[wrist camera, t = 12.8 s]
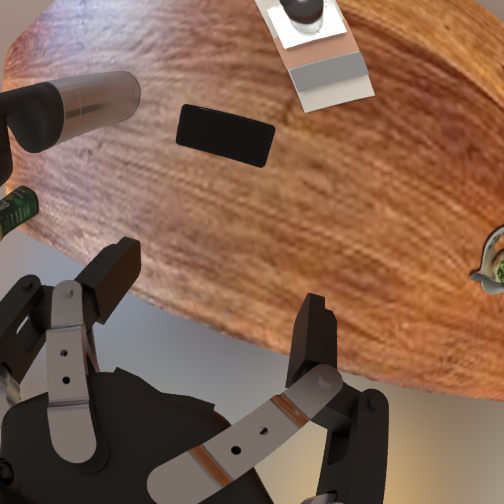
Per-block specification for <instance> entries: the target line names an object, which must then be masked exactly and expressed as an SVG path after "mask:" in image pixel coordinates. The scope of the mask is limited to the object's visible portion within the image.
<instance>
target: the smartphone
mask: <svg viewBox="0 0 504 504" xmlns="http://www.w3.org/2000/svg"><path fill="white" fill-rule="evenodd" d="M274 133H275V127H274V126H273V125H270V124H266V123H263V122H260V121H256V120H252V119H249V118H245V117H241V116H237V115H233V114H229V113H225V112H221V111H217V110H212V109H208V108H203V107H199V106H194V105H189V104H185V105H183V106H182V109H181V114H180V119H179V125H178V130H177V136H176V143H177V144H178V145H182V146H186V147H190V148H194V149H197V150H201V151H205V152H209V153H212V154H216V155H219V156H223V157H226V158H230V159H233V160H237V161H240V162H243V163H247V164H250V165H253V166H256V167H260V168H262V167H264V166H265V164H266V160H267V157H268V154H269V150H270V147H271V143H272V140H273V137H274Z"/></svg>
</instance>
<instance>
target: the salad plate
mask: <svg viewBox="0 0 504 504" xmlns="http://www.w3.org/2000/svg"><path fill="white" fill-rule="evenodd" d="M502 235H504V227H501V228H499V229H498V230H497V231H495V232H494V233H493V234H492V235H491V237H490V238H489V239H488V241H487V243H486V245H485V248H484V251H483V257H482V264H481V268H480V270H479V271H478V272H474V273H473V274H472V275H471V277H470V278H471V279H472V280H475V281H480V282H481V285H482V288H483V289H484V290H485V291H486V292H487V293H488V294H497V293H500V292H503V291H504V250H502V251H501V250H500V251H499V252H498V253H495V250H494V245H495V244H496V242H497V241H498V240H499V239H500V238H501V237H502Z"/></svg>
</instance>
